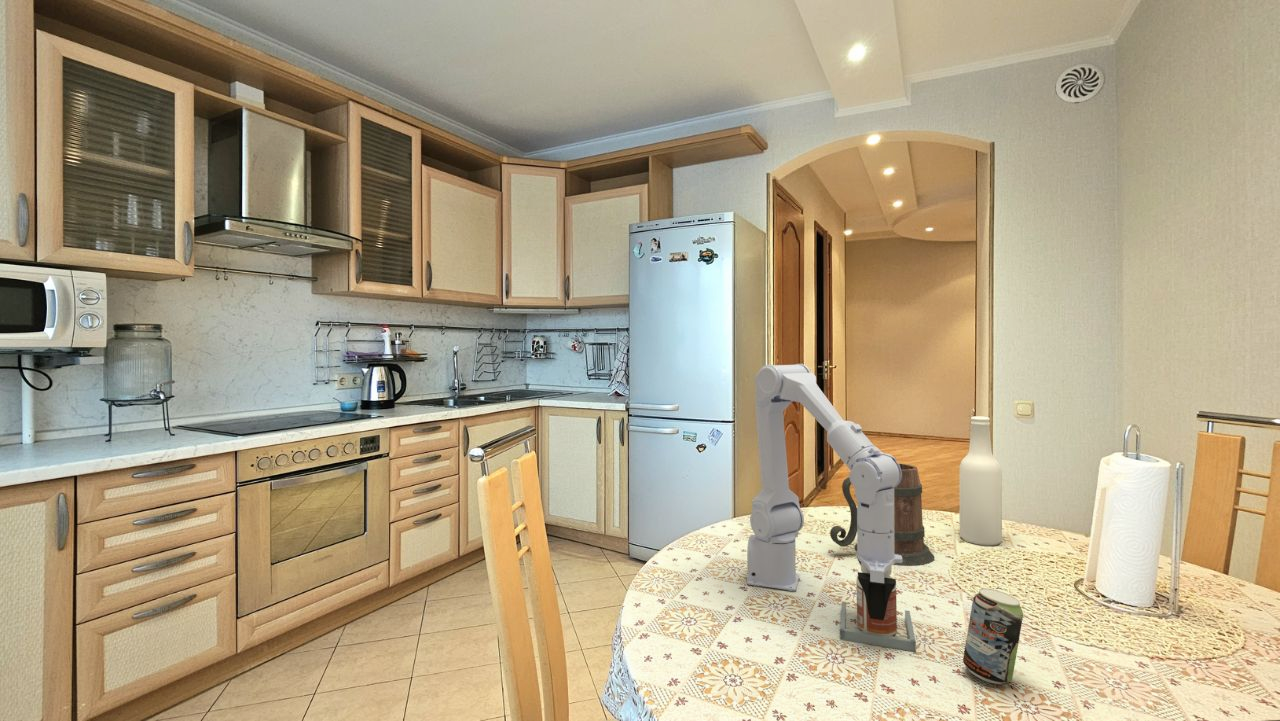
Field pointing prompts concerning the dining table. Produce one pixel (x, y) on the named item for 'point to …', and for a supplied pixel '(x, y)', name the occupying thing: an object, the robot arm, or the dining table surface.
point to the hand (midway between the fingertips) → (875, 608)
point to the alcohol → (980, 489)
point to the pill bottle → (874, 625)
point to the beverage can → (993, 636)
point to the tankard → (896, 520)
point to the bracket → (878, 635)
